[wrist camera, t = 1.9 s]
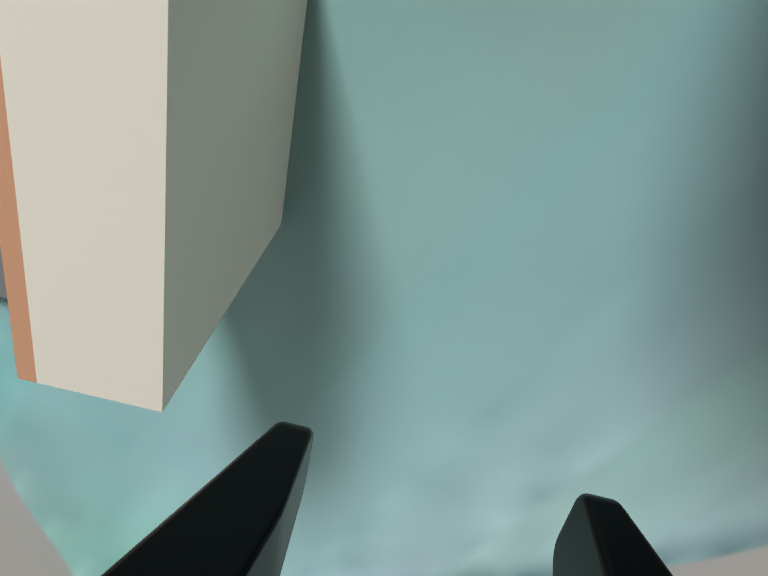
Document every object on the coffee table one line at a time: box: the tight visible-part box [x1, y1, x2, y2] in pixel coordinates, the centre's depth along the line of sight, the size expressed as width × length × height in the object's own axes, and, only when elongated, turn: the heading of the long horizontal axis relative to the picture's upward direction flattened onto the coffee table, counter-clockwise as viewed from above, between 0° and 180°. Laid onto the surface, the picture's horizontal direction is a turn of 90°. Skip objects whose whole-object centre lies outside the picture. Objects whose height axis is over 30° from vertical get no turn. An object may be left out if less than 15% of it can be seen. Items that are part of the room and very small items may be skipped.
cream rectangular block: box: [0, 0, 307, 412], centre depth 15 cm, size 3×8×9 cm, turn 169°
